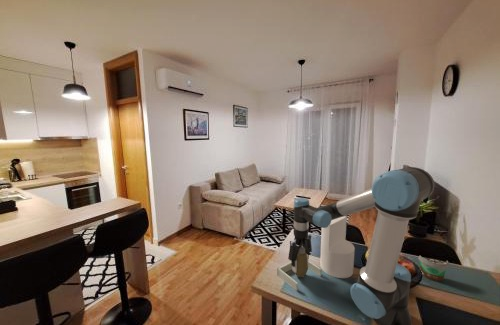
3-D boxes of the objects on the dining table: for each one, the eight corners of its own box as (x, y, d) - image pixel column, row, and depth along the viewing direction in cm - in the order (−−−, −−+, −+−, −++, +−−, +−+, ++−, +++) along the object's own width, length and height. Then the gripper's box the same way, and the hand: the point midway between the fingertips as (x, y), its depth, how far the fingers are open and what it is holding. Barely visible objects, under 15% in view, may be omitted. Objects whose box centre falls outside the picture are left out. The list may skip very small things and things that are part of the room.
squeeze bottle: (308, 279, 106) (309, 247, 104) (292, 277, 108) (292, 245, 105) (307, 269, 114) (308, 239, 111) (292, 267, 116) (292, 237, 113)
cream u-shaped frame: (321, 275, 111) (321, 268, 110) (296, 291, 101) (296, 283, 100) (301, 262, 123) (301, 256, 122) (277, 275, 112) (277, 268, 112)
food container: (420, 279, 107) (422, 261, 106) (416, 271, 113) (418, 254, 111) (451, 286, 102) (454, 267, 101) (446, 278, 108) (448, 260, 106)
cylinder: (314, 266, 119) (315, 220, 115) (330, 254, 129) (332, 212, 125) (342, 283, 105) (345, 231, 101) (359, 269, 116) (362, 221, 112)
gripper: (308, 220, 116) (307, 257, 119) (281, 230, 104) (280, 271, 108) (320, 225, 110) (318, 264, 113) (291, 236, 98) (291, 280, 102)
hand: (300, 268), depth 110 cm, fingers closed on squeeze bottle, 8 cm apart
